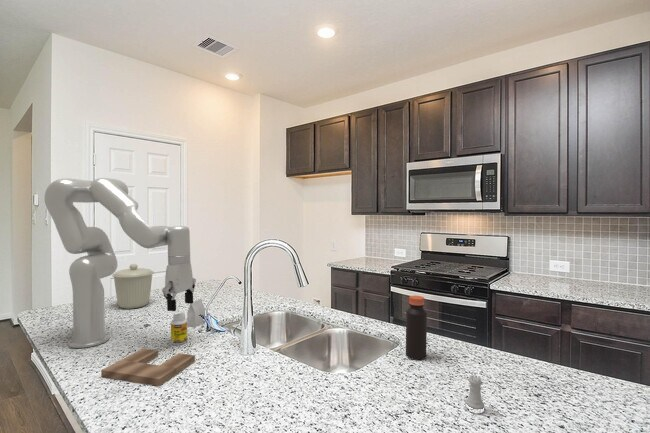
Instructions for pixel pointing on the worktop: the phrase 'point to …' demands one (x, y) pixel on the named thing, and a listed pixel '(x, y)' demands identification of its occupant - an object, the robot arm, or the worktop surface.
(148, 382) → the notched board
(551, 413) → the worktop surface
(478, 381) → the rook chess piece
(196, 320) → the tea bag
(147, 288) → the canister
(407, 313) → the vinegar
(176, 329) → the supplement bottle
